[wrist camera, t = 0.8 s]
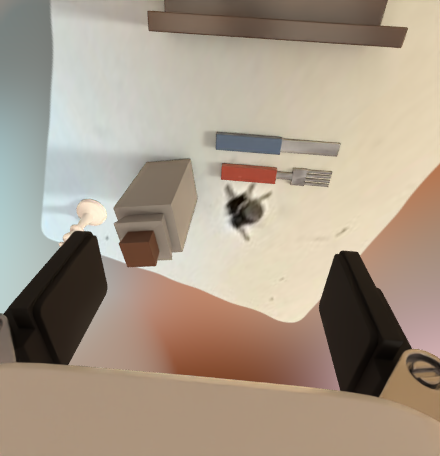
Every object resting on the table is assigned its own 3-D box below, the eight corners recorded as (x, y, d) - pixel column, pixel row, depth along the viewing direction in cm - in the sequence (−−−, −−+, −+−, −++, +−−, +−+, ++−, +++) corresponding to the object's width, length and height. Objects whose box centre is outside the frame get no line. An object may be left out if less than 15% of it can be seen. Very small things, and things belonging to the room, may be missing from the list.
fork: (222, 161, 44) (221, 164, 44) (332, 170, 44) (333, 173, 43) (221, 177, 46) (220, 180, 45) (327, 186, 45) (329, 189, 45)
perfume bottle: (156, 201, 49) (117, 279, 34) (146, 162, 45) (97, 230, 31) (197, 198, 48) (175, 277, 33) (190, 158, 45) (161, 227, 30)
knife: (216, 132, 42) (216, 134, 41) (340, 141, 41) (342, 144, 41) (216, 147, 43) (215, 149, 42) (336, 156, 43) (337, 159, 42)
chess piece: (75, 197, 50) (40, 232, 42) (104, 200, 50) (75, 235, 42) (81, 222, 53) (50, 259, 45) (109, 224, 53) (83, 262, 44)
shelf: (164, -26, 33) (143, -38, 26) (388, -13, 32) (425, -21, 25) (166, 29, 36) (148, 31, 29) (372, 42, 35) (401, 47, 28)
